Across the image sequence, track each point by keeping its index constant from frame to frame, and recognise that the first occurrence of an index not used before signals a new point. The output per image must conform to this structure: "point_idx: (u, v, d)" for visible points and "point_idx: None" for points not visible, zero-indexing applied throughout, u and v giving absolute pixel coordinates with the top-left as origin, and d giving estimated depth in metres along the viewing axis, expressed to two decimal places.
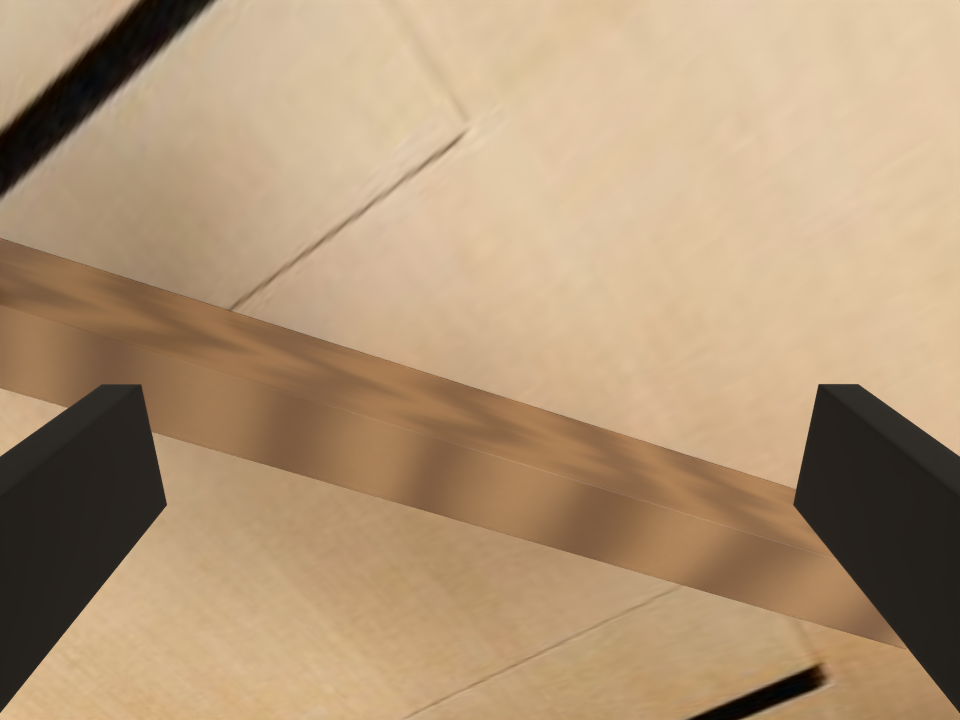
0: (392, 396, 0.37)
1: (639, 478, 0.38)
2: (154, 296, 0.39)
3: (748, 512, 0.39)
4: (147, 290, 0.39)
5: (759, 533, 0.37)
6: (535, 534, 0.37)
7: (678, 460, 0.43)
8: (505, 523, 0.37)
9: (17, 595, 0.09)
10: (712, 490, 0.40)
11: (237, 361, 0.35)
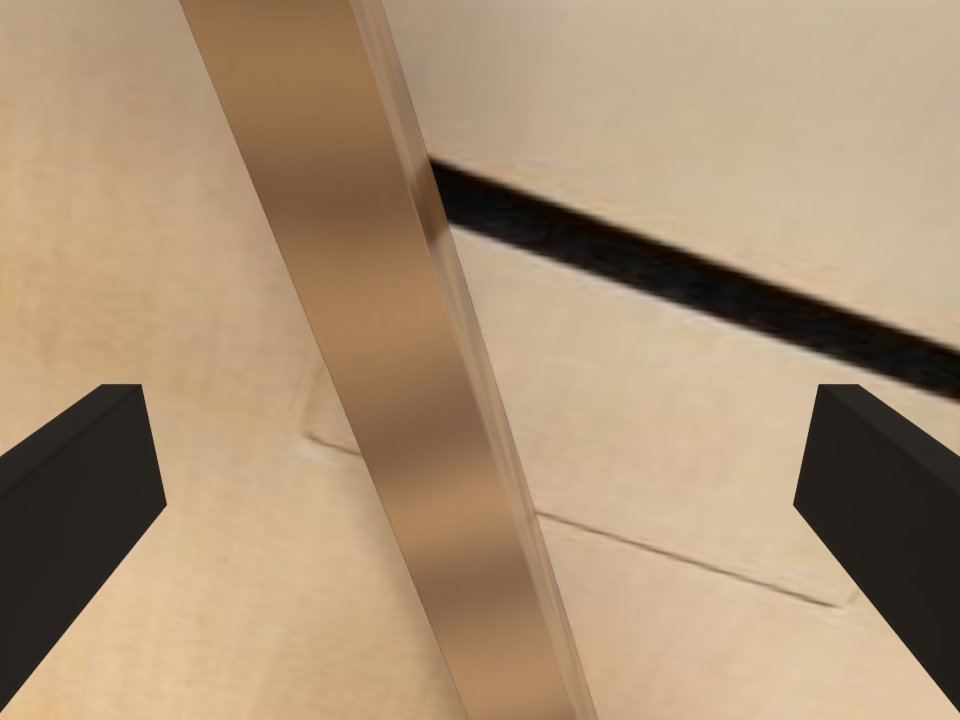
0: None
1: None
2: (517, 463, 0.31)
3: None
4: (513, 446, 0.32)
5: None
6: None
7: None
8: None
9: (17, 595, 0.09)
10: None
11: (560, 647, 0.29)
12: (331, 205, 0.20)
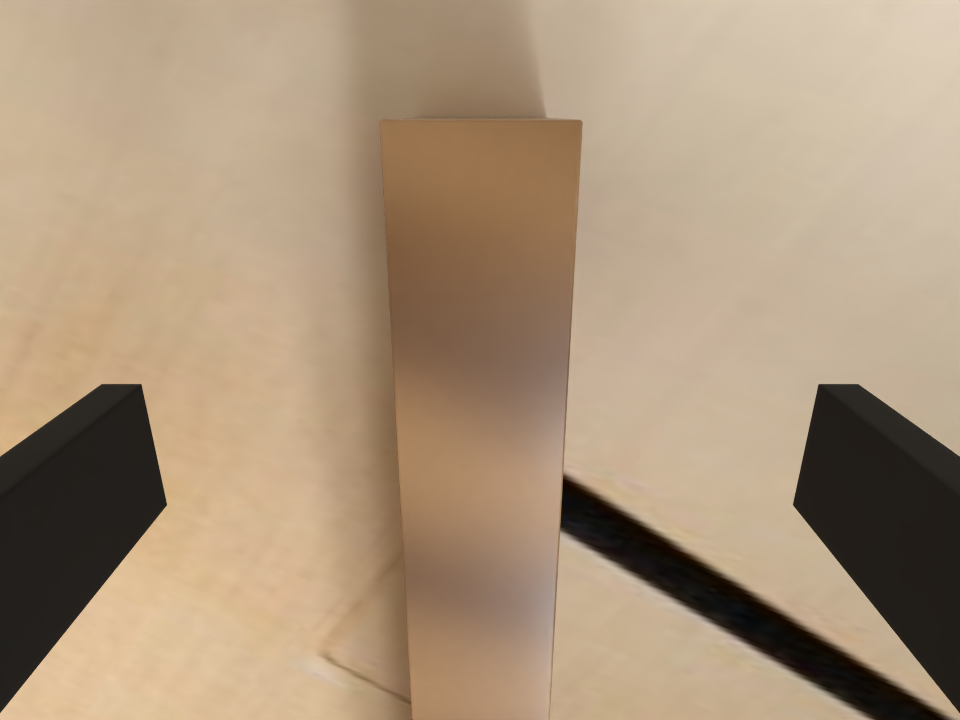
0: None
1: None
2: None
3: None
4: None
5: None
6: None
7: None
8: None
9: (17, 595, 0.09)
10: None
11: None
12: (474, 597, 0.20)
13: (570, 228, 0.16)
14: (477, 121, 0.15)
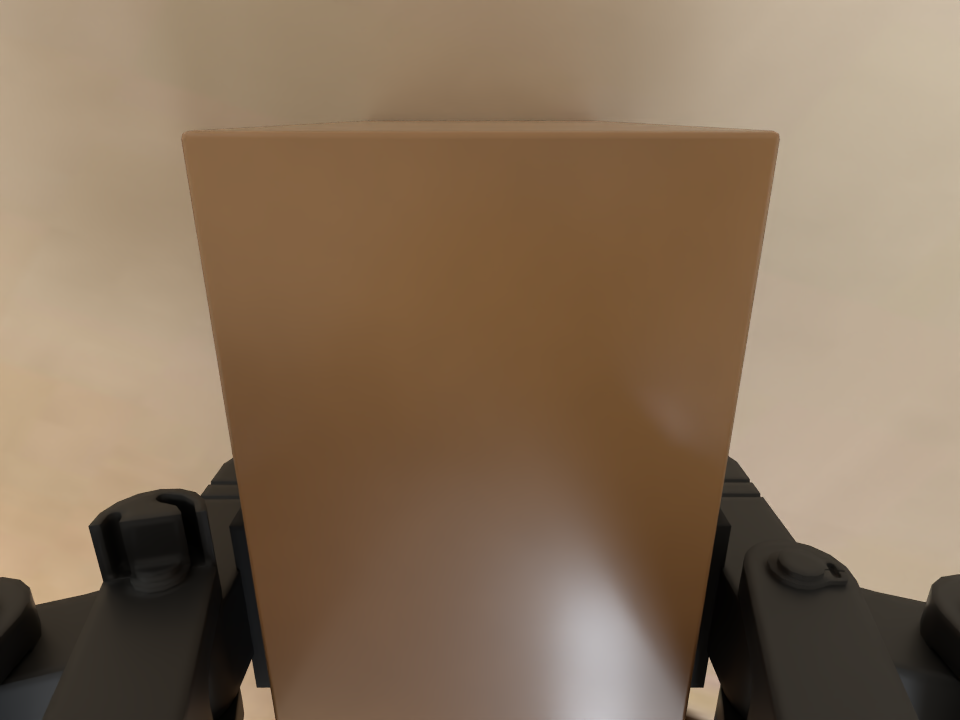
0: None
1: None
2: None
3: None
4: None
5: None
6: None
7: None
8: None
9: None
10: None
11: None
12: None
13: (719, 418, 0.06)
14: (469, 135, 0.05)
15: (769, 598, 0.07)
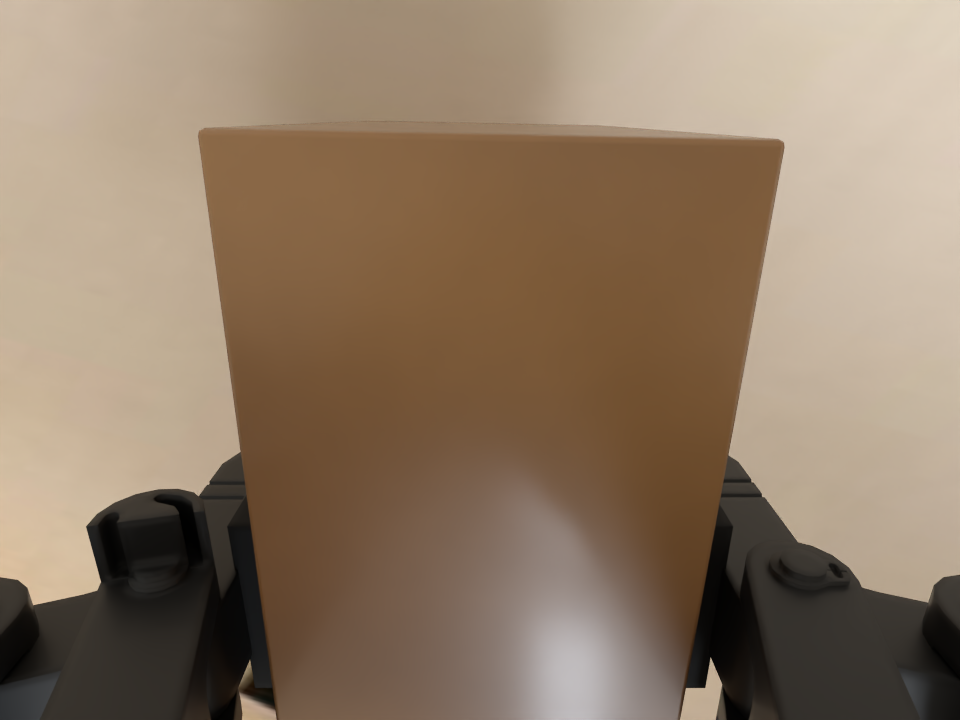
0: None
1: None
2: None
3: None
4: None
5: None
6: None
7: None
8: None
9: None
10: None
11: None
12: None
13: (720, 420, 0.06)
14: (481, 138, 0.05)
15: (772, 599, 0.07)
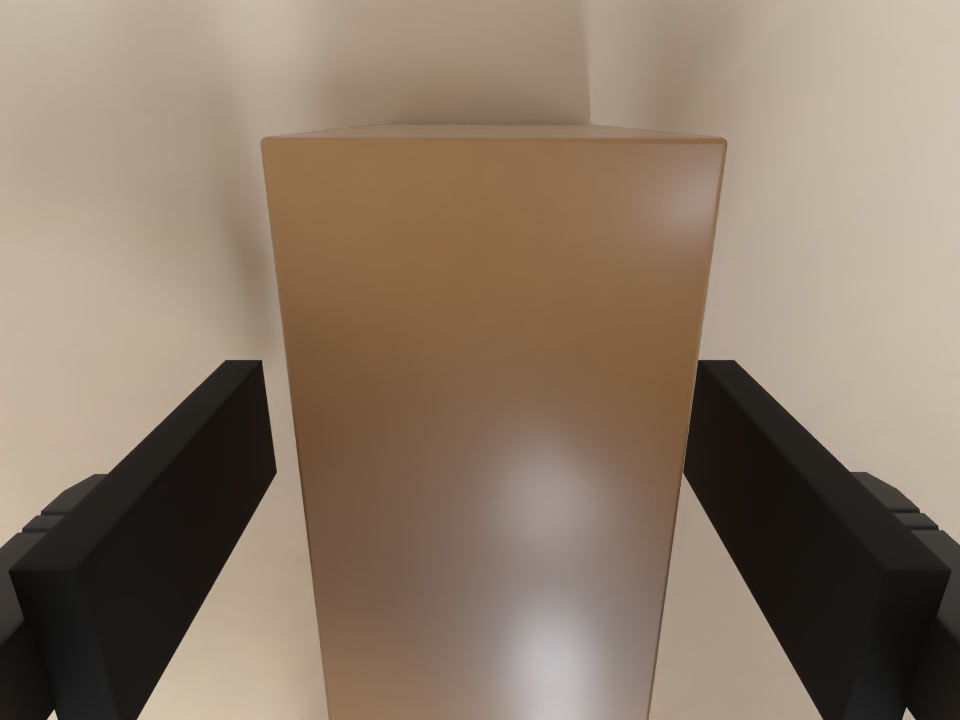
0: None
1: None
2: None
3: None
4: None
5: None
6: None
7: None
8: None
9: (191, 538, 0.10)
10: None
11: None
12: None
13: (684, 368, 0.07)
14: (485, 141, 0.06)
15: None
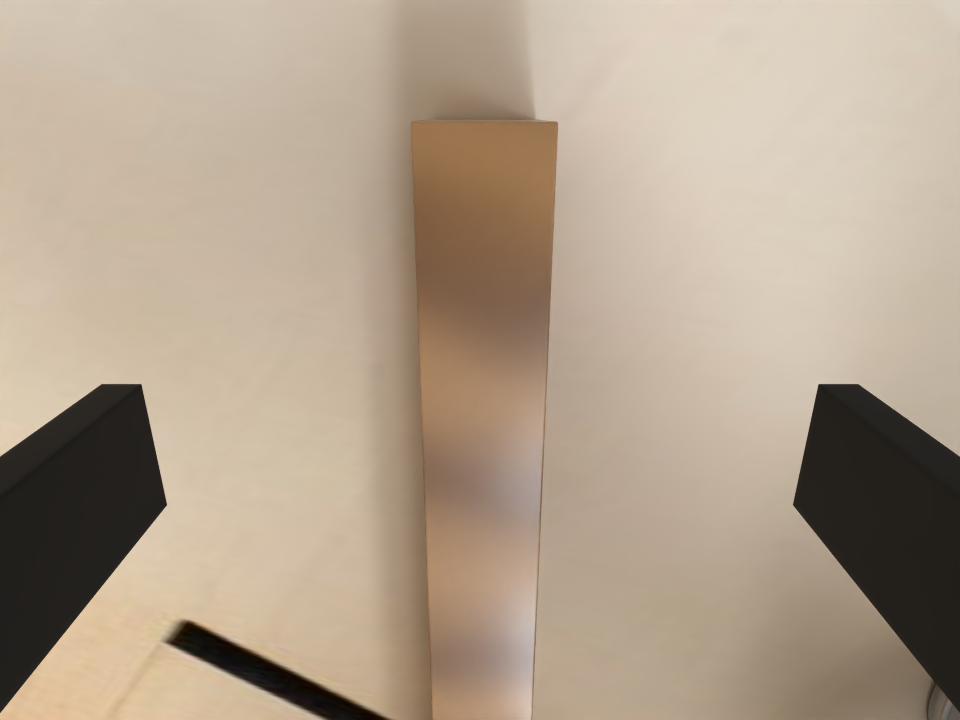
0: None
1: None
2: None
3: None
4: None
5: None
6: None
7: None
8: None
9: (17, 595, 0.09)
10: None
11: None
12: (478, 493, 0.25)
13: (550, 201, 0.21)
14: (481, 122, 0.20)
15: None
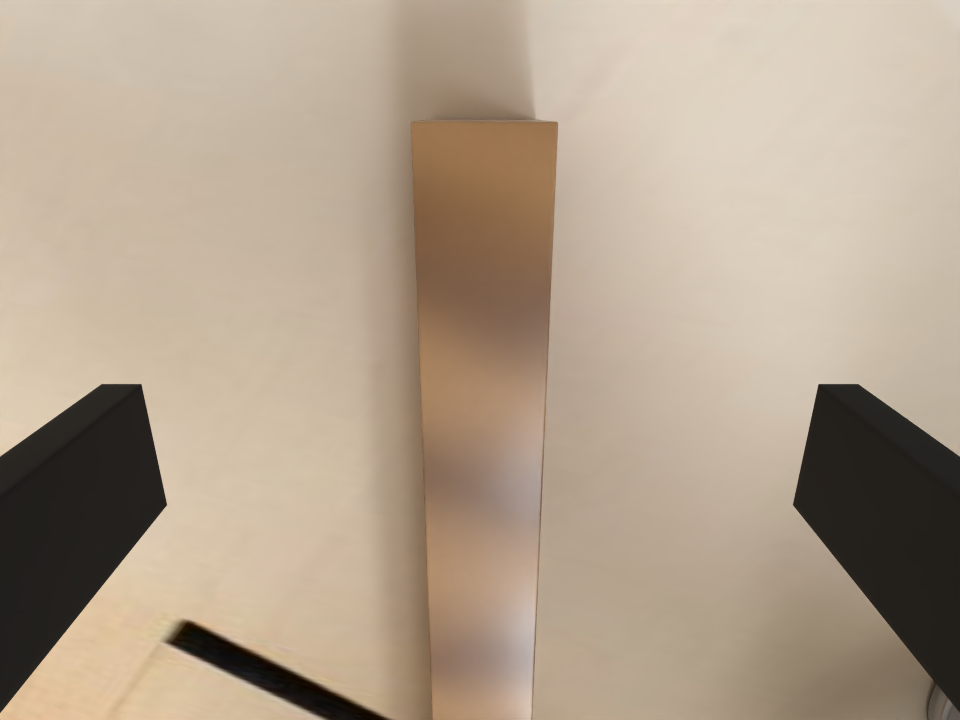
0: None
1: None
2: None
3: None
4: None
5: None
6: None
7: None
8: None
9: (17, 595, 0.09)
10: None
11: None
12: (478, 493, 0.25)
13: (550, 201, 0.21)
14: (481, 122, 0.20)
15: None
